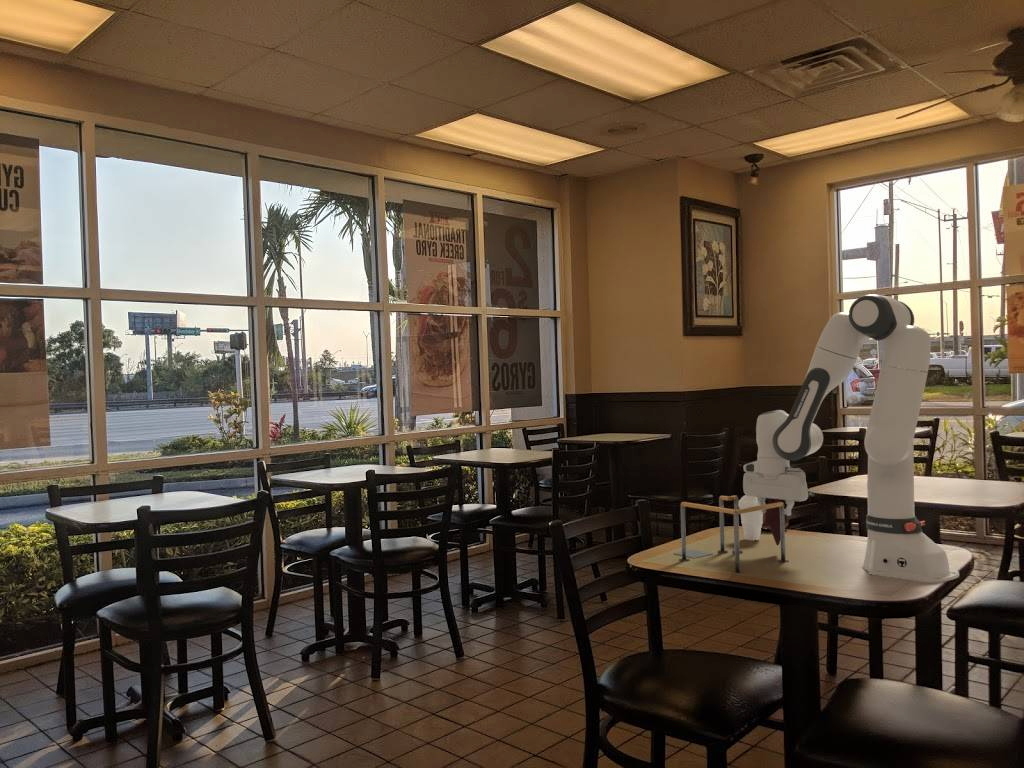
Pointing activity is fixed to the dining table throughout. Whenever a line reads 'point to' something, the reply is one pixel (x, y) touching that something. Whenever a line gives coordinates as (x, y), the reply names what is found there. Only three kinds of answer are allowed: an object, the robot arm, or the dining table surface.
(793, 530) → the dining table surface
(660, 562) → the dining table surface
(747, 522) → the soft serve ice cream cone
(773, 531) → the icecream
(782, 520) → the wire frame
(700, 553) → the mat
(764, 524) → the cup and saucer
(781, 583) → the dining table surface
